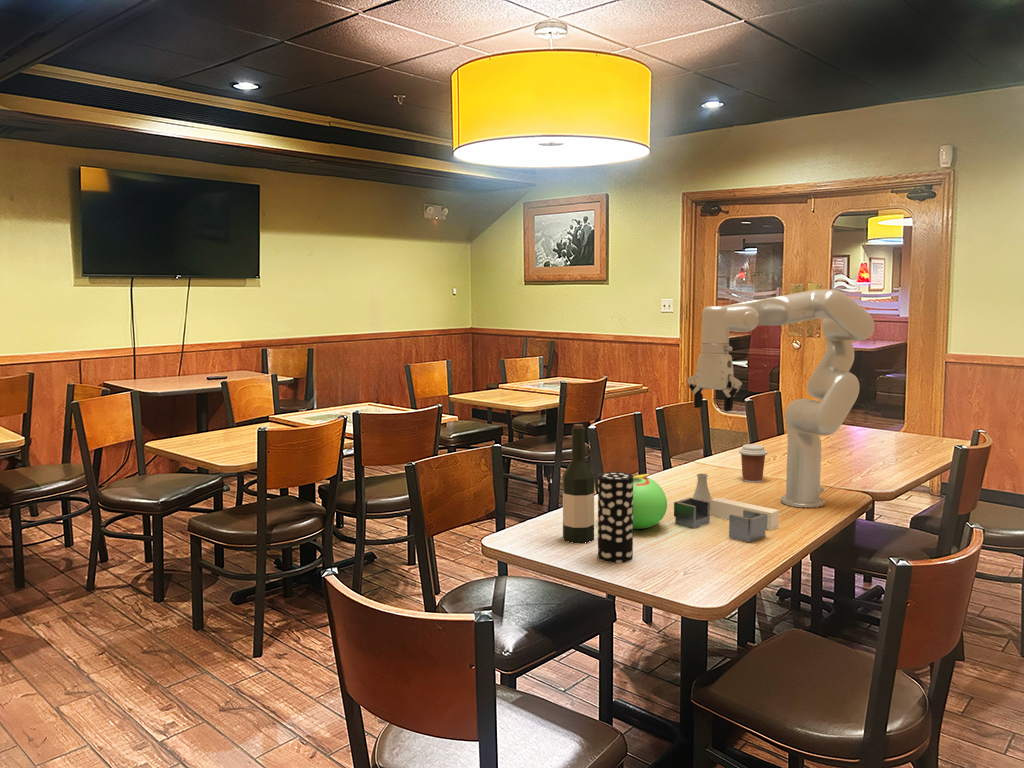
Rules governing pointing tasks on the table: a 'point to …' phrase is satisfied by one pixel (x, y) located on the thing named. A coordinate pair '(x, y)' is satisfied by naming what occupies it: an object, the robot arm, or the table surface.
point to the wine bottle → (578, 493)
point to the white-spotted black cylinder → (615, 517)
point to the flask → (702, 488)
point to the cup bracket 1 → (692, 512)
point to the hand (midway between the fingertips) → (712, 409)
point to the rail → (728, 507)
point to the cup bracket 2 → (748, 526)
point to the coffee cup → (752, 462)
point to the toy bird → (647, 502)
